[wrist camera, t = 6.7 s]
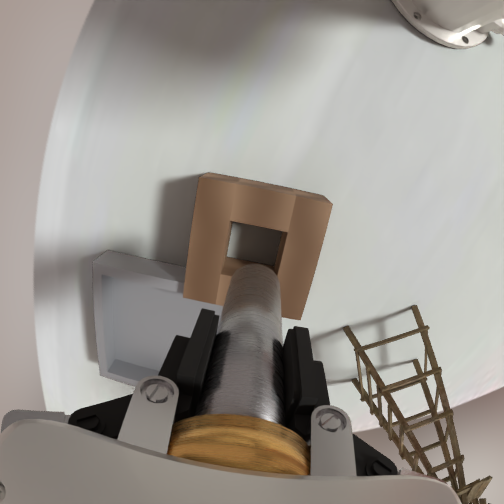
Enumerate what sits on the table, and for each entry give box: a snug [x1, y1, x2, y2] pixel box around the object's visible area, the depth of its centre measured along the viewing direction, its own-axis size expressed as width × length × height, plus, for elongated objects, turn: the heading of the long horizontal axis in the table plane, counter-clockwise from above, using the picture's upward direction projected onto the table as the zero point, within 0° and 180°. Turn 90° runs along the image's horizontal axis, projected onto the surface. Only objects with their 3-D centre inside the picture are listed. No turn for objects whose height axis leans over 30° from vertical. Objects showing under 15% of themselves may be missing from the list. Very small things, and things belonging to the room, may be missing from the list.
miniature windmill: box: [343, 305, 492, 504], centre depth 17 cm, size 9×8×30 cm
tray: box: [92, 250, 223, 387], centre depth 30 cm, size 16×14×3 cm
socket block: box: [183, 172, 333, 320], centre depth 26 cm, size 10×10×4 cm
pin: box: [167, 264, 309, 476], centre depth 12 cm, size 4×4×12 cm
